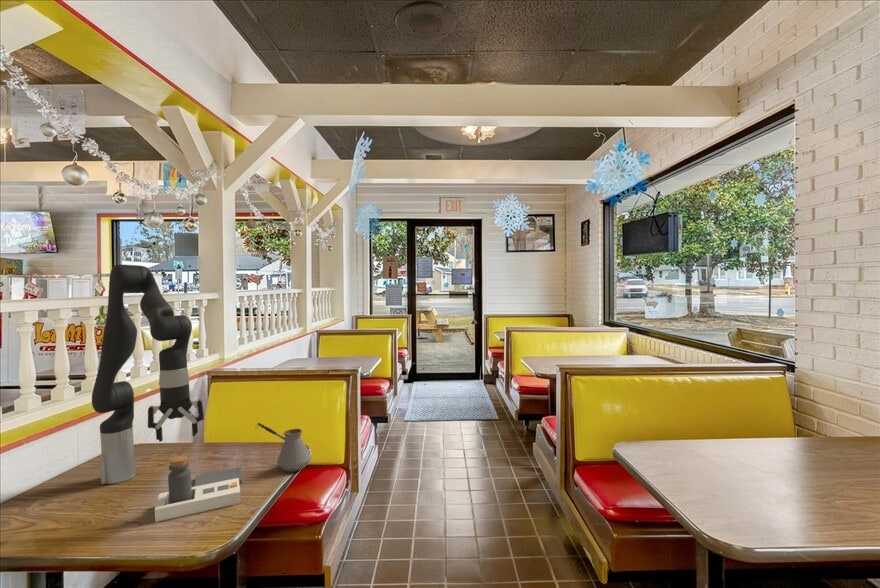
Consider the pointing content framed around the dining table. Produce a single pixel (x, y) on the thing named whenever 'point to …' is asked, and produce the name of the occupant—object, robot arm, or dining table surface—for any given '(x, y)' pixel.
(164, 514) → the power strip
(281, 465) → the coffee pot
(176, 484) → the bottle
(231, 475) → the mat
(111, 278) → the robot arm
